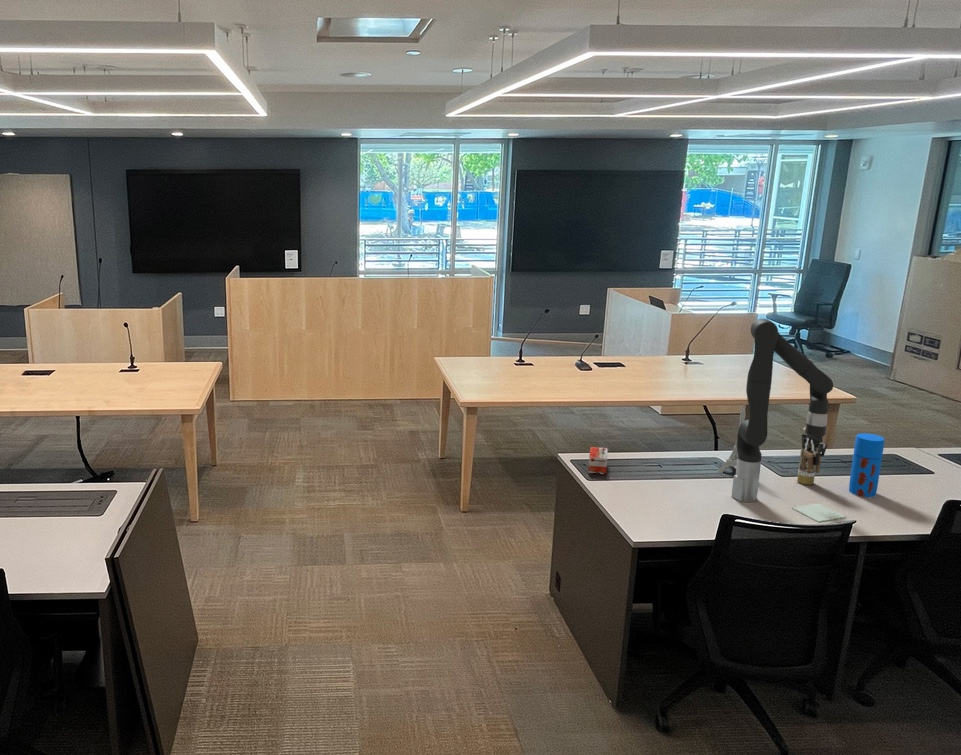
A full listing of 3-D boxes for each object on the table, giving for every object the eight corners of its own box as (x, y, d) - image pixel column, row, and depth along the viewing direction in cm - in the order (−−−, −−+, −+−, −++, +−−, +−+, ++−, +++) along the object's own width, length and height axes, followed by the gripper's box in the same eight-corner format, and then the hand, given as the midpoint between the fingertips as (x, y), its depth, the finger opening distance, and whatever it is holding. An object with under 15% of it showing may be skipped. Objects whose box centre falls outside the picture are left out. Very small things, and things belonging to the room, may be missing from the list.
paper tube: (799, 478, 340) (806, 425, 334) (815, 482, 336) (822, 428, 330) (794, 482, 335) (801, 428, 329) (810, 486, 331) (818, 432, 325)
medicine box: (606, 475, 339) (607, 458, 337) (588, 473, 341) (589, 457, 339) (606, 464, 354) (607, 447, 352) (589, 462, 355) (590, 446, 353)
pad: (818, 522, 294) (818, 521, 294) (792, 508, 307) (792, 507, 306) (845, 517, 299) (846, 516, 299) (818, 504, 312) (818, 503, 311)
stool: (808, 473, 307) (810, 454, 305) (801, 469, 312) (803, 450, 310) (819, 473, 308) (821, 454, 306) (812, 468, 313) (814, 450, 311)
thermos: (853, 486, 333) (861, 431, 327) (879, 493, 325) (888, 437, 319) (844, 492, 325) (852, 436, 319) (870, 499, 318) (879, 442, 312)
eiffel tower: (716, 472, 346) (723, 408, 339) (728, 464, 356) (735, 403, 349) (745, 479, 338) (752, 414, 331) (756, 471, 348) (763, 408, 341)
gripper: (797, 418, 311) (792, 457, 315) (818, 428, 298) (813, 469, 302) (814, 417, 313) (809, 456, 317) (836, 427, 299) (830, 468, 303)
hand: (811, 462), depth 309 cm, fingers closed on stool, 5 cm apart
